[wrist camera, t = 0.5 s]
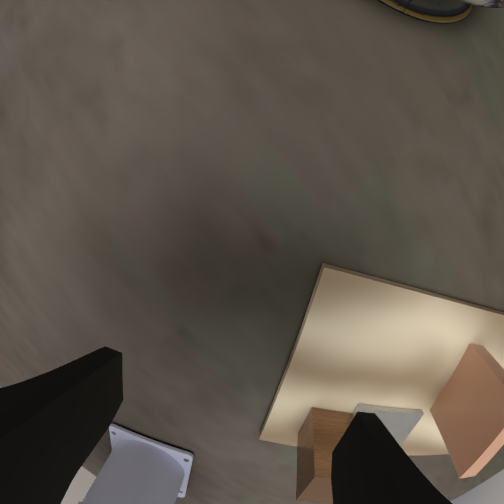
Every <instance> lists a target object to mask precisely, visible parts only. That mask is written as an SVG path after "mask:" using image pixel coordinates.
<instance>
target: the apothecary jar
mask: <svg viewBox="0 0 504 504" xmlns="http://www.w3.org/2000/svg"><path fill="white" fill-rule="evenodd" d="M380 1H382V2H384V3H385V4H387V5H389V6H391V7H393V8H395V9H397V10H399V11H401V12H403V13H405V14H407V15H410V16H413V17H416V18H419V19H422V20H426V21H431V22H439V23H450V22H455V21H459V20H461V19H463V18H464V17H466V16H467V15H468V14H469V13H470V11H471V8H472V6H473V5H476V6H481V7H490V8H501V7H504V0H380Z"/></svg>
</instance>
